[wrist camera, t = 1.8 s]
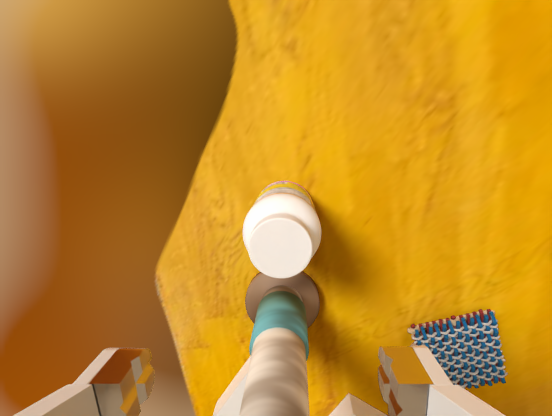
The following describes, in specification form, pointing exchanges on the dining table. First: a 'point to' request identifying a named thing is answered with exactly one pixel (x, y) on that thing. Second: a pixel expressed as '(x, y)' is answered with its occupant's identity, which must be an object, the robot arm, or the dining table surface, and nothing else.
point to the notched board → (349, 412)
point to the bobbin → (279, 345)
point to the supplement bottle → (282, 230)
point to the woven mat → (465, 347)
